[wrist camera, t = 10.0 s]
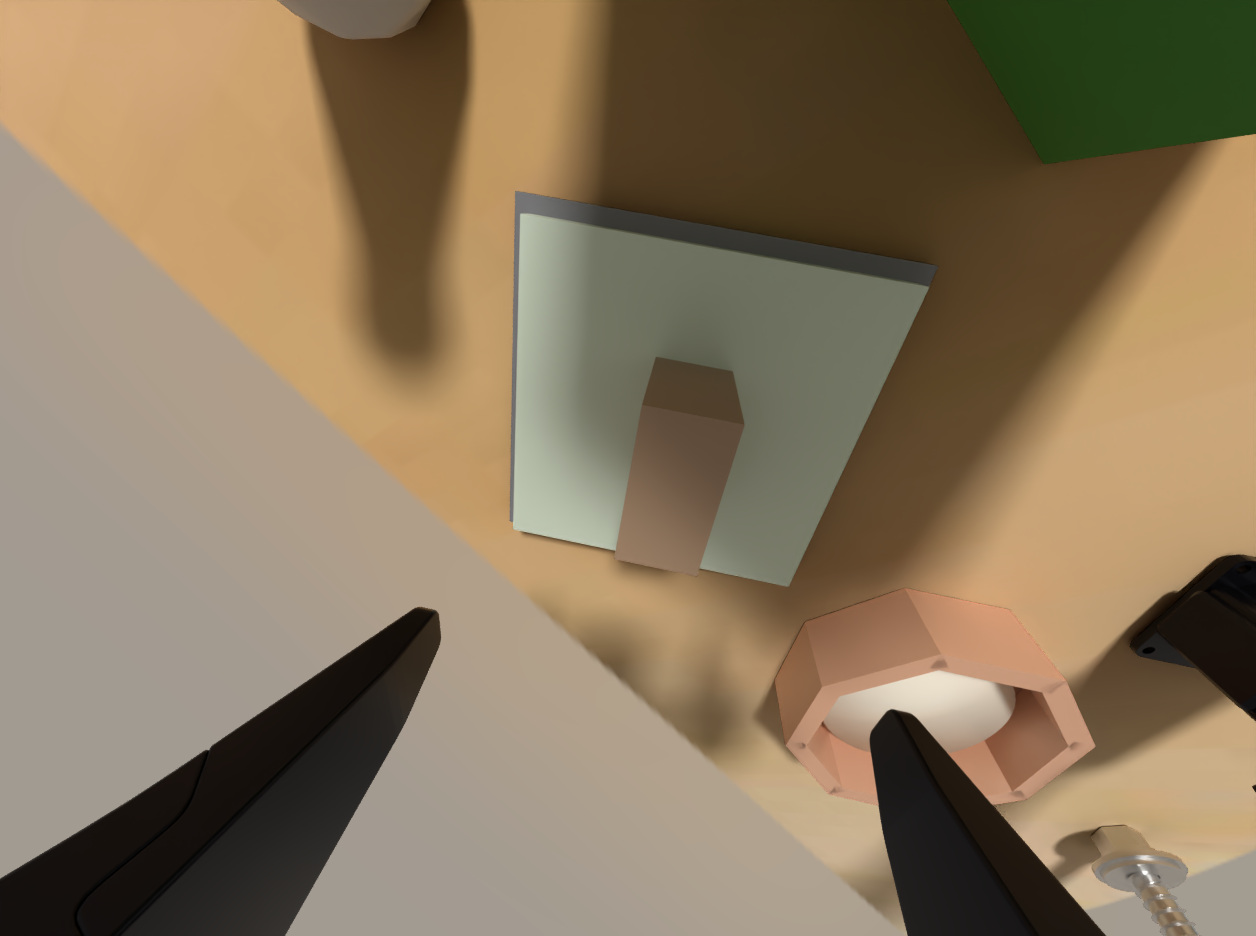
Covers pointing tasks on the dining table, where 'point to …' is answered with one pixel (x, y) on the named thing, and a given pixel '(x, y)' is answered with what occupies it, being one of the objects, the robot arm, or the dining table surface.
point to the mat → (699, 235)
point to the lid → (691, 394)
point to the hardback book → (1119, 70)
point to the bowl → (928, 694)
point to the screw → (1143, 875)
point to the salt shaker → (360, 16)
